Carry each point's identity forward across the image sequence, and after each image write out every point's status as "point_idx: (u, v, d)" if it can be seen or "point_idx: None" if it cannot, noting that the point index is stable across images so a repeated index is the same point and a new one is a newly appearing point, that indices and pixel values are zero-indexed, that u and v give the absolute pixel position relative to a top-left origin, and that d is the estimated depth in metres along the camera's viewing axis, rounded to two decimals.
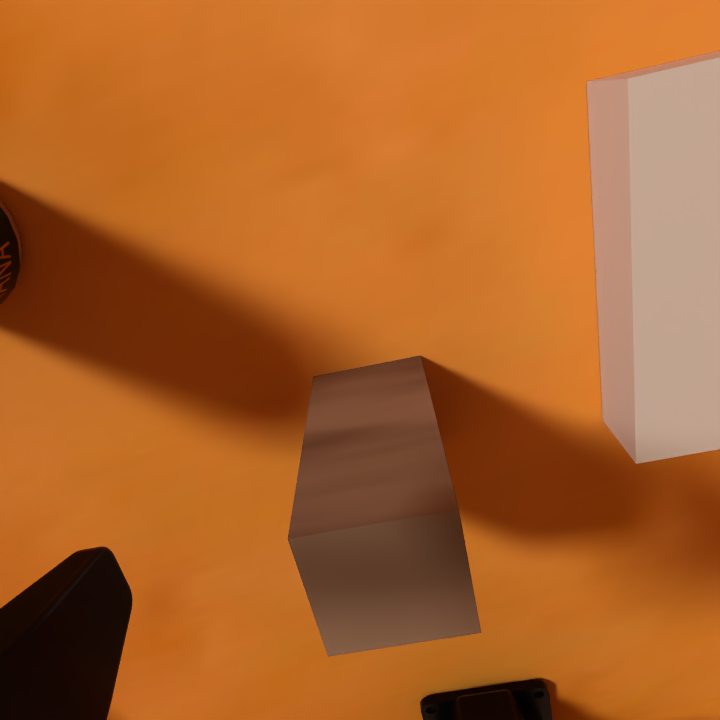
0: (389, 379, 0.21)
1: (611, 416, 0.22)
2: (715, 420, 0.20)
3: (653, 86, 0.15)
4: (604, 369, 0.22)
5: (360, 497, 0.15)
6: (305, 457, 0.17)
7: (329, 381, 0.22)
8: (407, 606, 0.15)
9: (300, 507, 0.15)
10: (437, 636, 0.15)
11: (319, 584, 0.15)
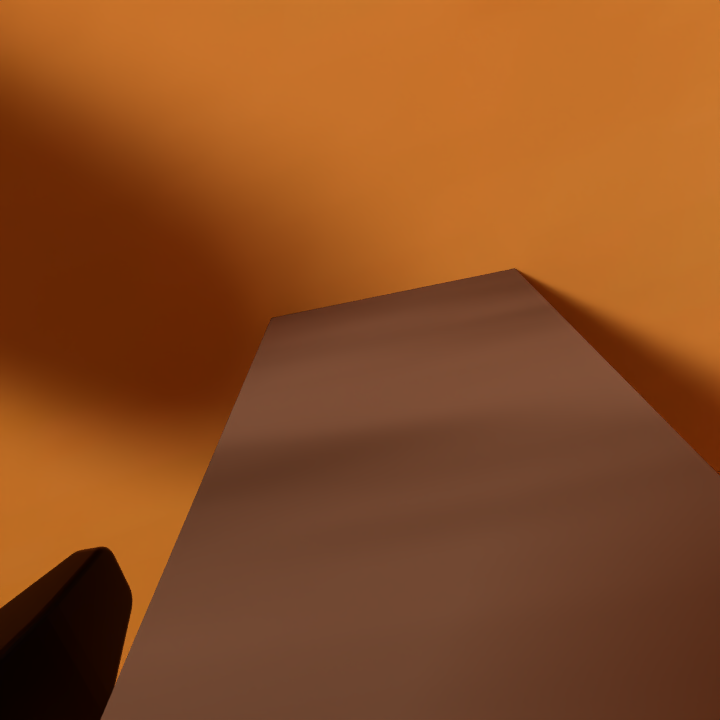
0: (452, 313, 0.08)
1: None
2: None
3: None
4: None
5: None
6: (196, 532, 0.05)
7: (305, 323, 0.09)
8: None
9: None
10: None
11: None
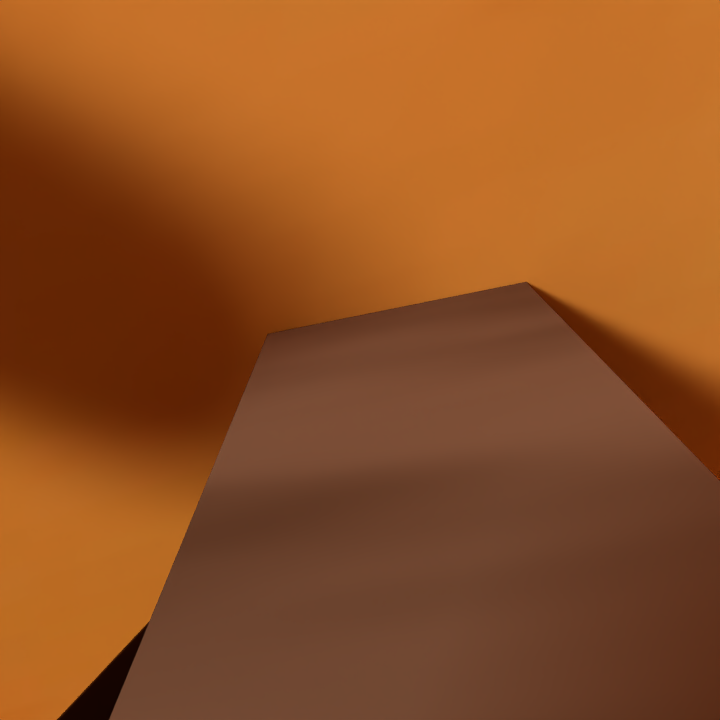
0: (460, 332, 0.08)
1: None
2: None
3: None
4: None
5: None
6: (178, 595, 0.04)
7: (303, 341, 0.09)
8: None
9: None
10: None
11: None
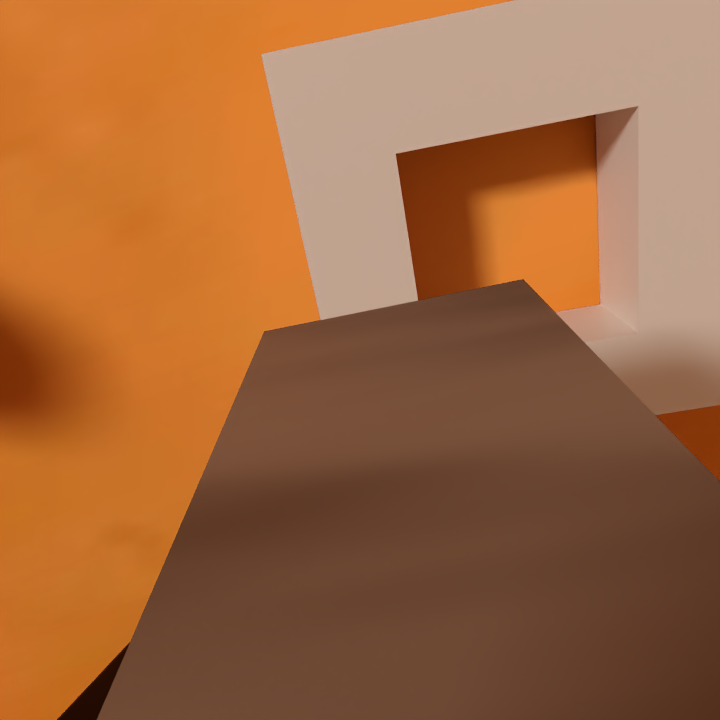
0: (457, 329, 0.08)
1: None
2: None
3: (289, 63, 0.15)
4: None
5: None
6: (170, 591, 0.04)
7: (300, 338, 0.09)
8: None
9: None
10: None
11: None
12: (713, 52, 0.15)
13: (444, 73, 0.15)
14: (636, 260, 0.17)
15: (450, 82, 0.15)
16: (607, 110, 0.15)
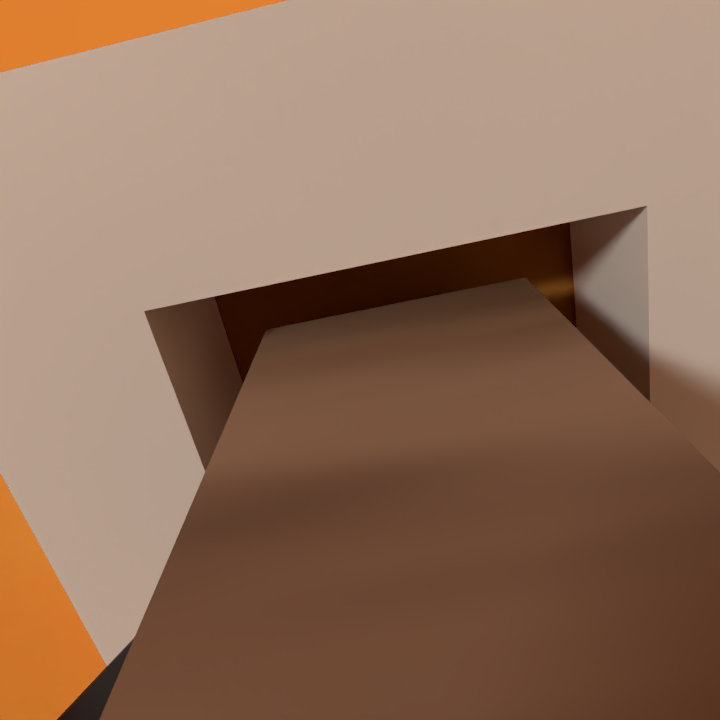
0: (460, 327, 0.08)
1: None
2: None
3: None
4: None
5: None
6: (174, 587, 0.04)
7: (302, 336, 0.09)
8: None
9: None
10: None
11: None
12: None
13: (217, 149, 0.07)
14: None
15: (235, 169, 0.07)
16: (580, 216, 0.07)
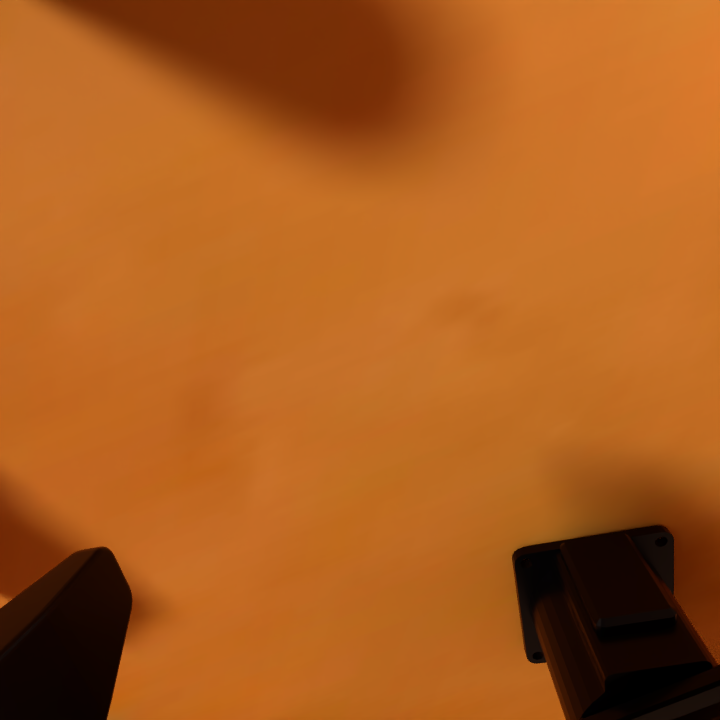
0: None
1: None
2: None
3: None
4: None
5: None
6: None
7: None
8: None
9: None
10: None
11: None
12: None
13: None
14: None
15: None
16: None
